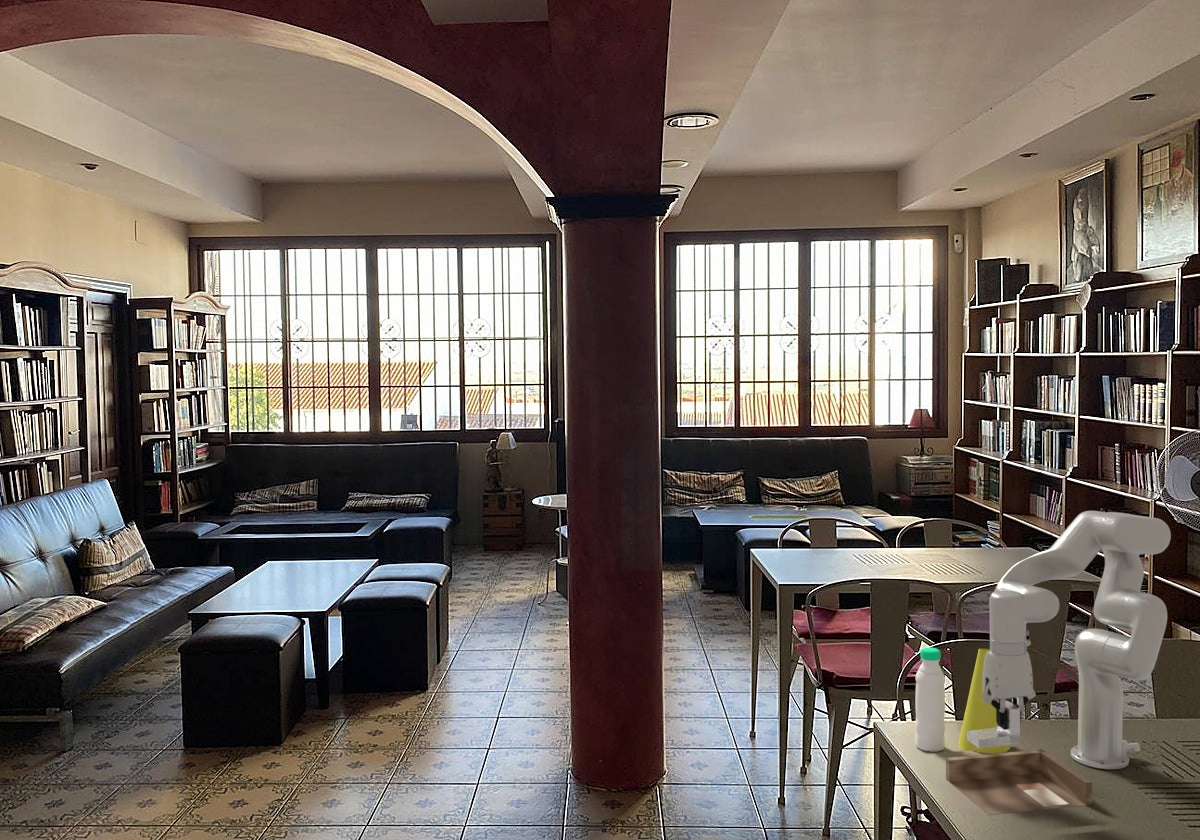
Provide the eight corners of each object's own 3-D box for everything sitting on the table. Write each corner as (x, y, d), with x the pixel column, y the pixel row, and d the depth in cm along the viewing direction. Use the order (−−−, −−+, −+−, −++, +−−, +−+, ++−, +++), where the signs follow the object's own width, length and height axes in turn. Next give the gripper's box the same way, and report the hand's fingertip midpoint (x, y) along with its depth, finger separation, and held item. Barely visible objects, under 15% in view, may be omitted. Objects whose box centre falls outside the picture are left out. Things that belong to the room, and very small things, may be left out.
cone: (958, 735, 257) (959, 640, 255) (1010, 741, 252) (1011, 644, 251) (957, 754, 245) (958, 654, 244) (1011, 760, 241) (1012, 659, 239)
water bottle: (946, 753, 246) (947, 654, 244) (916, 751, 247) (917, 652, 245) (942, 742, 252) (943, 645, 251) (913, 740, 254) (914, 644, 252)
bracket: (1007, 734, 227) (1007, 700, 226) (1020, 743, 222) (1019, 708, 222) (966, 739, 226) (966, 705, 225) (978, 748, 221) (978, 713, 220)
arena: (1041, 774, 233) (1042, 749, 232) (1091, 809, 215) (1092, 782, 215) (945, 783, 229) (946, 757, 229) (988, 819, 211) (988, 791, 211)
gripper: (1031, 638, 228) (1031, 716, 229) (965, 645, 225) (966, 724, 227) (1051, 648, 220) (1051, 729, 222) (983, 655, 218) (984, 737, 219)
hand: (1008, 725), depth 224 cm, fingers closed on bracket, 2 cm apart
